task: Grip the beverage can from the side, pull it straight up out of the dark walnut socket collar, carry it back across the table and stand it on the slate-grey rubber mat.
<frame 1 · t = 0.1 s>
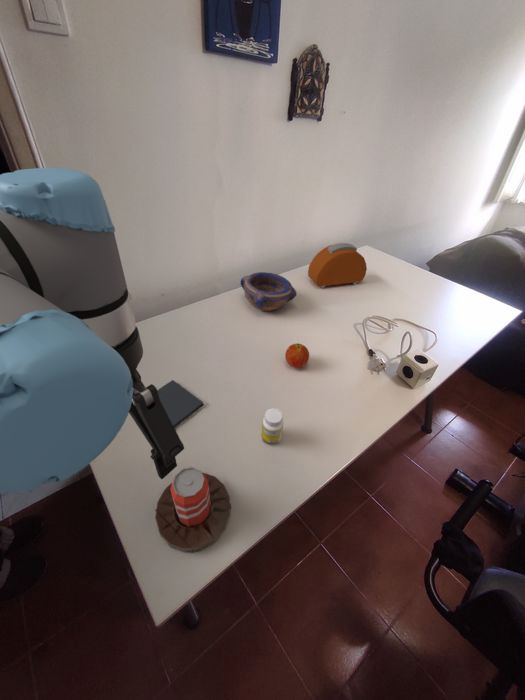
hand: (139, 444, 48), 21 cm above the table, tool pointing down, fingers open, 13 cm apart
orange toaster: (334, 282, 135), on the table
supplement bottle: (271, 437, 74), on the table
mat: (169, 406, 79), on the table
fruit: (295, 364, 94), on the table
socket: (194, 511, 60), on the table
beverage can: (194, 511, 60), resting in socket
bowl: (266, 305, 118), on the table
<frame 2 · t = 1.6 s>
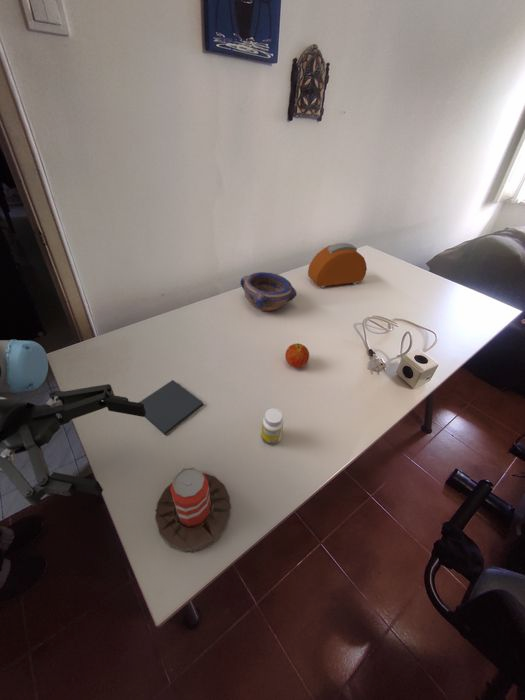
hand: (124, 445, 48), 20 cm above the table, tool horizontal, fingers open, 13 cm apart
nothing on the table moved.
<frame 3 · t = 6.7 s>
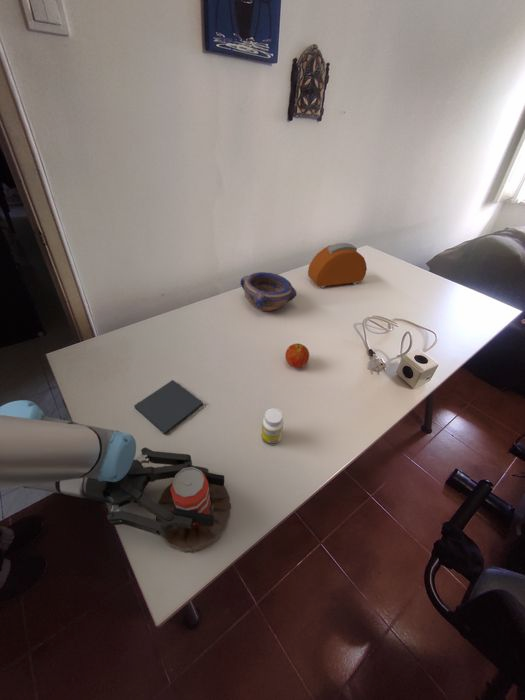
hand: (218, 500, 55), 7 cm above the table, tool horizontal, fingers closed on beverage can, 6 cm apart
beverage can: (194, 511, 60), resting in socket, touching gripper
everything else where it was.
when the fingers open (8 cm above the table, at t = 15.9 s): beverage can stays where it is, resting on mat.
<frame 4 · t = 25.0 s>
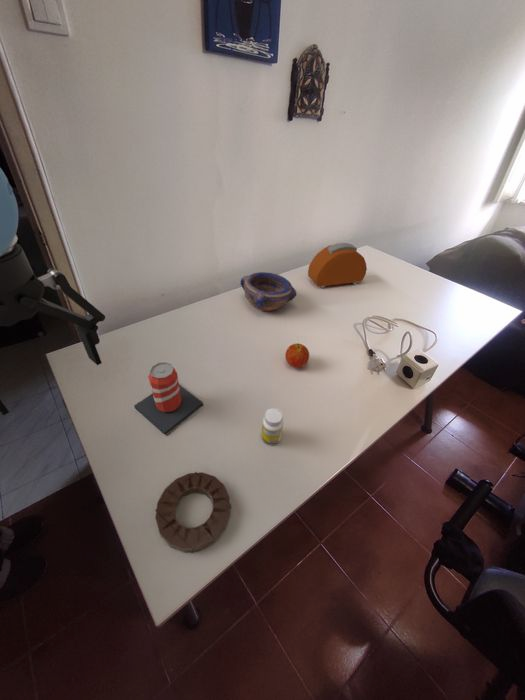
hand: (53, 382, 48), 27 cm above the table, tool pointing down, fingers open, 13 cm apart
beverage can: (169, 404, 78), point 1 cm above the table, touching mat
everything else where it was.
at the end: beverage can inside the target area on the mat (0.0 cm from its centre), point 0.8 cm above the mat's base; beverage can tilted 0°; the gripper is holding nothing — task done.
